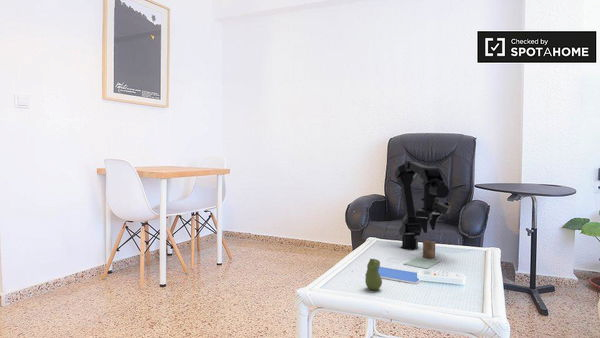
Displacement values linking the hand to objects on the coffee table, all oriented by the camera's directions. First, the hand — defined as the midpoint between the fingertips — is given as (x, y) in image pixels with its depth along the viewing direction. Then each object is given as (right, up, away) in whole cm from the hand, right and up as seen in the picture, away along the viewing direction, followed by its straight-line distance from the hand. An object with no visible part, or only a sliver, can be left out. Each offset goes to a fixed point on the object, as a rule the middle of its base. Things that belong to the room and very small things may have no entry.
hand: (429, 231), depth 172 cm
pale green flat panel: (-6, -12, -9) cm, 16 cm away
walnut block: (0, -12, 0) cm, 12 cm away
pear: (-32, -13, -42) cm, 54 cm away
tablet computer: (-21, -13, -26) cm, 36 cm away
